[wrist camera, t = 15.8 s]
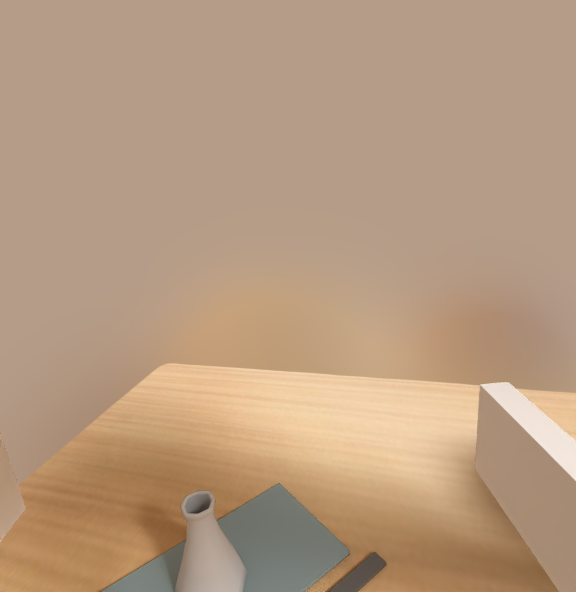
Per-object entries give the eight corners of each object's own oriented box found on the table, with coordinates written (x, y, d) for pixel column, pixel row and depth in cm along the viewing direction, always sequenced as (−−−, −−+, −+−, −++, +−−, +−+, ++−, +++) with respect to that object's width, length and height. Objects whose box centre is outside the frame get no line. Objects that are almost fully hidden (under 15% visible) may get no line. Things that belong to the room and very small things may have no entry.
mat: (279, 486, 52) (279, 483, 52) (349, 554, 42) (349, 550, 42) (60, 620, 38) (58, 617, 38) (85, 773, 28) (84, 769, 27)
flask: (173, 630, 36) (153, 544, 33) (177, 559, 42) (161, 483, 40) (251, 608, 37) (239, 524, 34) (243, 543, 44) (233, 468, 41)
